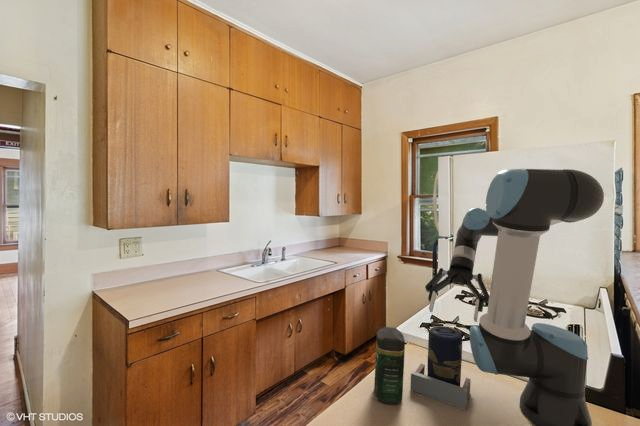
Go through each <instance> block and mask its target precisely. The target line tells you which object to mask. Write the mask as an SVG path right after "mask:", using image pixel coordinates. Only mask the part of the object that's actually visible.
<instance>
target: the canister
mask: <svg viewBox="0 0 640 426" xmlns="http://www.w3.org/2000/svg"><path fill="white" fill-rule="evenodd" d="M427 340H428V342H427V343H428V344H427V375H426V376H429V377H432V378H435V379H438V380H441V381H444V382H447V383H450V384H453V385H456V386H459V387H461V377H462V361H463V360H462V359H463V356H462V355H463V336H462V333H461V332H460V331H459V330H457V329H455V328H452V327H449V326H442V325H441V326H440V325H438V326H433V327H431V328H430V329H429V330H428V338H427Z"/></svg>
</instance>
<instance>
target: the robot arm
mask: <svg viewBox="0 0 640 426" xmlns="http://www.w3.org/2000/svg"><path fill="white" fill-rule="evenodd" d="M604 199H605V193H604V189H603V187H602V185H601V183H600V182H599V181H598V180H597V179H596V178H595V177H593V176H592V175H590V174H588V173H587V172H584V171H581V170H578V169H577V170H576V169H568V168H567V169H565V168H564V169H550V168H549V169H547V168H546V169H545V168H544V169H543V168H538V169H537V168H520V167H519V168H514V169H513V168H511V169H503V170H501V171H499V172H498V173H497V174H496V175H495V176H494V177H493V178H492V180H491V182H490V184H489V185H488V189H487V193H486V199H485V204H486V206H485V209H486V210H485V209H482V208H480V207H473V208H470V209H469V210H467V212H466V213H465V215H464V217H463V219H462V223H461V225H460V226H459V227H458V230H457V232H456V238H455V243H454V248H453V252H452V257H451V261H450V263H449V264H450V265H449V269H447V270H446V269H445V270H444V269H443V268H442V267H440V268H439V270H438V272H437V273H436V274H435V275H434V276H433V277H432V278H431V280H430V281H429V282H427V284H426V285H425V287H424V288H425V290H426V293H427V292H428V293H429V294H428V298H427V299H428V302H429V305H428V306H429V307H428V309H429V312H430V313H433V312H434V307H435V304H436V303H435V302H436V298H437V293H438V292H439V291H441V290H442V289H444V288H446V287H447V286H450V285H452V284H453V285H456V286H457V285H459V286H466V287H467V288H468V289H469V290H470V292H471V293H472V294H473V295H474V297H475V298H476V301H475V306H474V313H473V321H474V322H475V323H477V322H478V321H479V322H478V325H477V324H474V325H471V326H470V328H469V333H468V334H469V344H470V348H471V353H472V357H473V360H474V363H475V365H476V367H477V368H478V369H479V370H480V371H482V372H483V373H488V374H492V375H493V374H494V375H497V376H498V375H504V376H513V377H522V378H528V381H527V383H526V384H525V387H524V388H523V390H522V392H521V394H520V397H519V409H520V411H521V412H522V414H523V416H525V418H526V419H528V420H529V421H531V422H532V423H533V424H535V425H536V426H593V424H592V423H593V422H592V418H591V415H590V411H589V408H588V405H587V402H586V398H585V393H586V391H585V390H586V380H587V379H586V377H587V368H588V367H587V366H588V360H589V354H588V344H587V342H586V341H585V340H584V339H583V338H582V337H581V336H579V335H578V334H576V333H575V332H573V331H571V330H567V329H565V328H562V327H559V326H555V325H554V324H553V325H552V324H549V323H548V324H547V323H544V322H543V323H541V322H536V323H533V324H532V325H531V328H530V327H529V326H528V324H526V318H527V313H528V307H529V300H530V296H531V291H532V286H533V285H532V284H533V280H534V274H535V267H536V261H537V257H538V249H539V244H540V238H541V235H543V234H545V233H548V232H549V231H550V228H551V226H554V225H556V224H560V223H568V224H569V223H576V222H579V221H582V220H587V219H589V218H591V217H593V216H594V215H595V214H596V213H598V211H599V210H600V209H601V207H603V204H604V201H605V200H604ZM482 236H484V237H486V236H487V237H497V239H496V246H495V253H494V260H493V266H492V267H493V268H492V275H491V282H490V290H489V292H488V290H487V288H486V286H485V284H484V281H483V276H482V273H478V274H473V272H474V267H475V262H476V261H475V260H476V254H477V248H478V245H479V242H480V239H481V238H482ZM445 276H446V277H445ZM443 277H445V278H444V279H443ZM473 280H475V282H477V285H478V286H479V289H480V291H481V293H480V292H479V290H478V289H477V288H476V286H475V285H474V284H473V282H472V281H473ZM482 295H483V296H482ZM485 303H487V304H488V305H487V310H486V313H484V314H482V315H481V316H480V317H479V320H478V316H479V313H482V312H483V309H484V304H485Z"/></svg>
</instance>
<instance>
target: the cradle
mask: <svg viewBox="0 0 640 426" xmlns="http://www.w3.org/2000/svg"><path fill="white" fill-rule="evenodd" d="M425 367H426V365H425V364H423V363H420V364H419V365H418V367H417V368H416V370H415V371H414V372H417V373H420V374H423V375H425V371H426V370H425ZM471 383H472V382H471V378H468V377H465V379H464V382H463V385H462V386H461V387H462V388H465V389H468V390H467V401H468V400H469V396H470V393H471Z"/></svg>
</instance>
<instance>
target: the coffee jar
mask: <svg viewBox="0 0 640 426" xmlns="http://www.w3.org/2000/svg"><path fill="white" fill-rule="evenodd" d="M405 343H406V340H405V336H404V334H403V332H401V331H400V330H399V329H397V328H396V327H391V326H389V327H388V326H382V327H381V328H380V329H378V330H377V332H376V341H375V363H374V365H375V366H374V383H373V384H374V387H373V388H374V389H373V391H374V396H375V398H376V400H378V401H379V402H382V403H384V404H388V405H394V404H399V403H402V400H403V392H404V389H403V388H404V372H405V371H404V370H405V354H406V352H405V348H406V347H405V346H406V345H405Z"/></svg>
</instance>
